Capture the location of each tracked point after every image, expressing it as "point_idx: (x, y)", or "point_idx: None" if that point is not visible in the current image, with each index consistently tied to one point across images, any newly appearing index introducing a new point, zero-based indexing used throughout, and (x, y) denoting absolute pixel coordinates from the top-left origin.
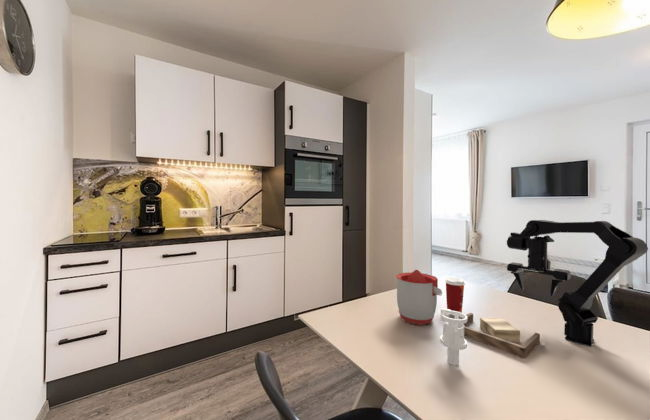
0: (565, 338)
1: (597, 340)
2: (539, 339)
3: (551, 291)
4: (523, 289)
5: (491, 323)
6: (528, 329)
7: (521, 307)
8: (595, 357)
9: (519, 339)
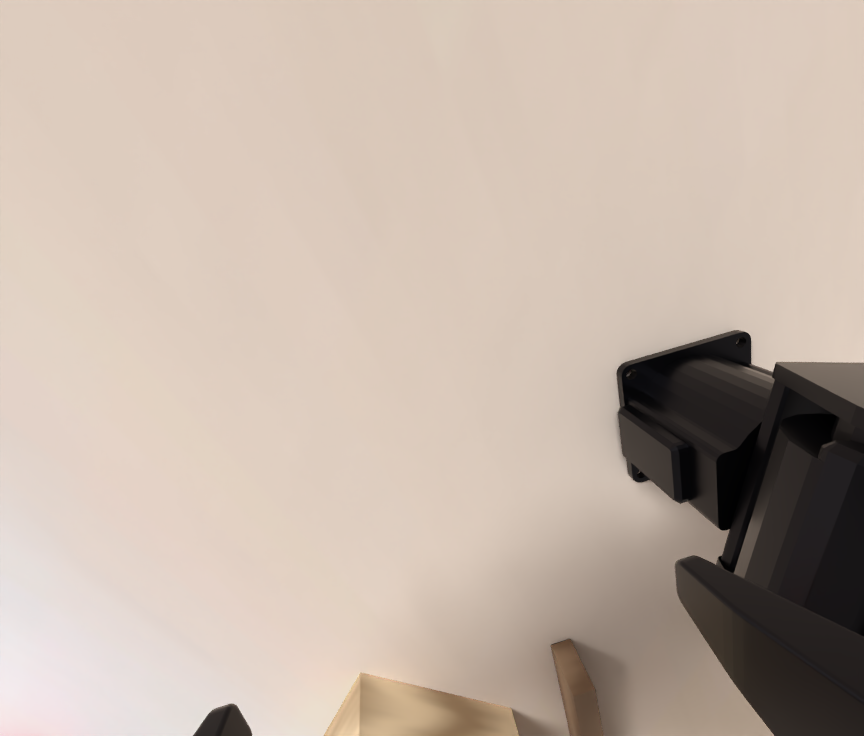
0: (632, 477)
1: (750, 294)
2: (580, 663)
3: (773, 713)
4: (232, 709)
5: None
6: (444, 547)
7: (11, 61)
8: None
9: (513, 720)
